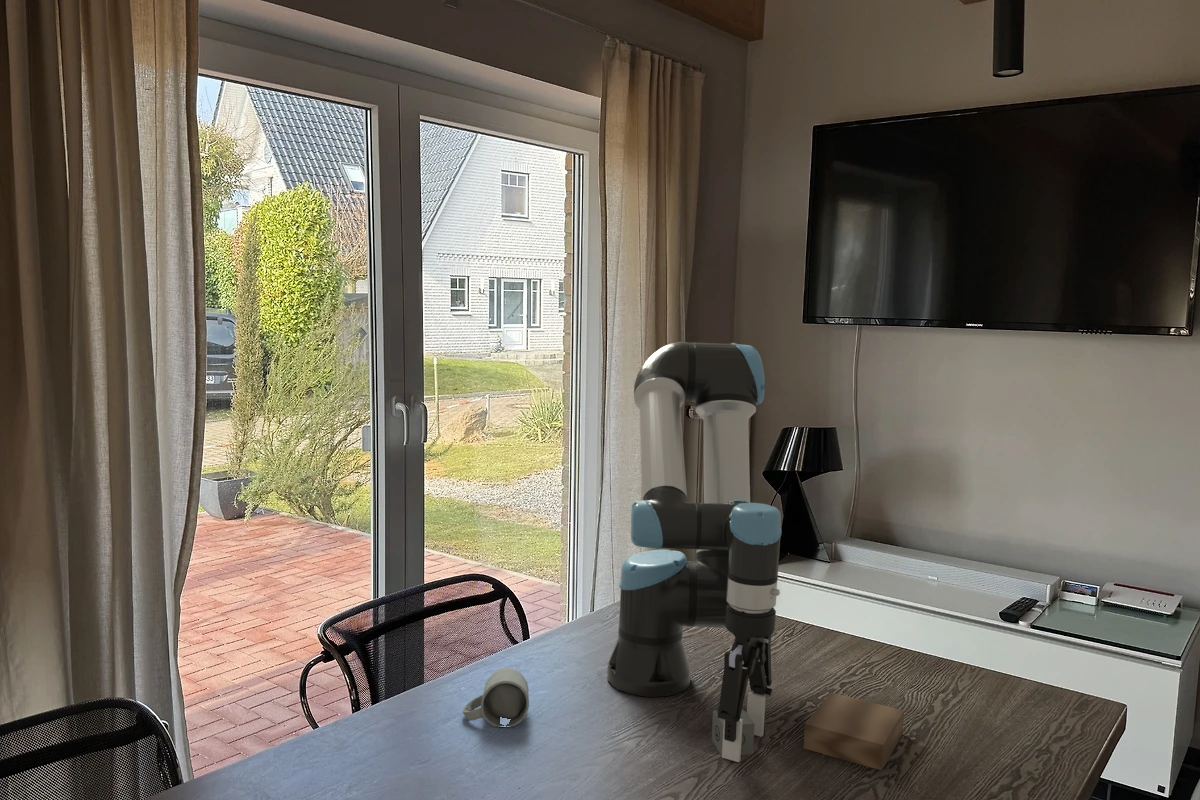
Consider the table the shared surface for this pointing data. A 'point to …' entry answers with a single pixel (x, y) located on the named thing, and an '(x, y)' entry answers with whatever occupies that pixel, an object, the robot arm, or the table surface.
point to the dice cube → (746, 733)
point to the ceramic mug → (501, 699)
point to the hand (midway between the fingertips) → (743, 745)
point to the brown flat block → (854, 730)
